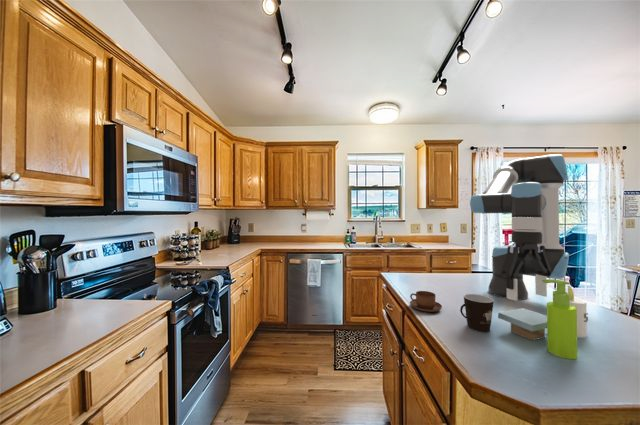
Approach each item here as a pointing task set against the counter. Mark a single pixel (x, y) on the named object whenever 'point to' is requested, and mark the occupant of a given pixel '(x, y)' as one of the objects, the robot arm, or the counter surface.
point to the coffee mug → (478, 312)
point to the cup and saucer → (425, 301)
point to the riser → (527, 332)
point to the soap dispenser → (561, 323)
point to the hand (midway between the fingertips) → (526, 297)
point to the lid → (525, 319)
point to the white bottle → (579, 314)
